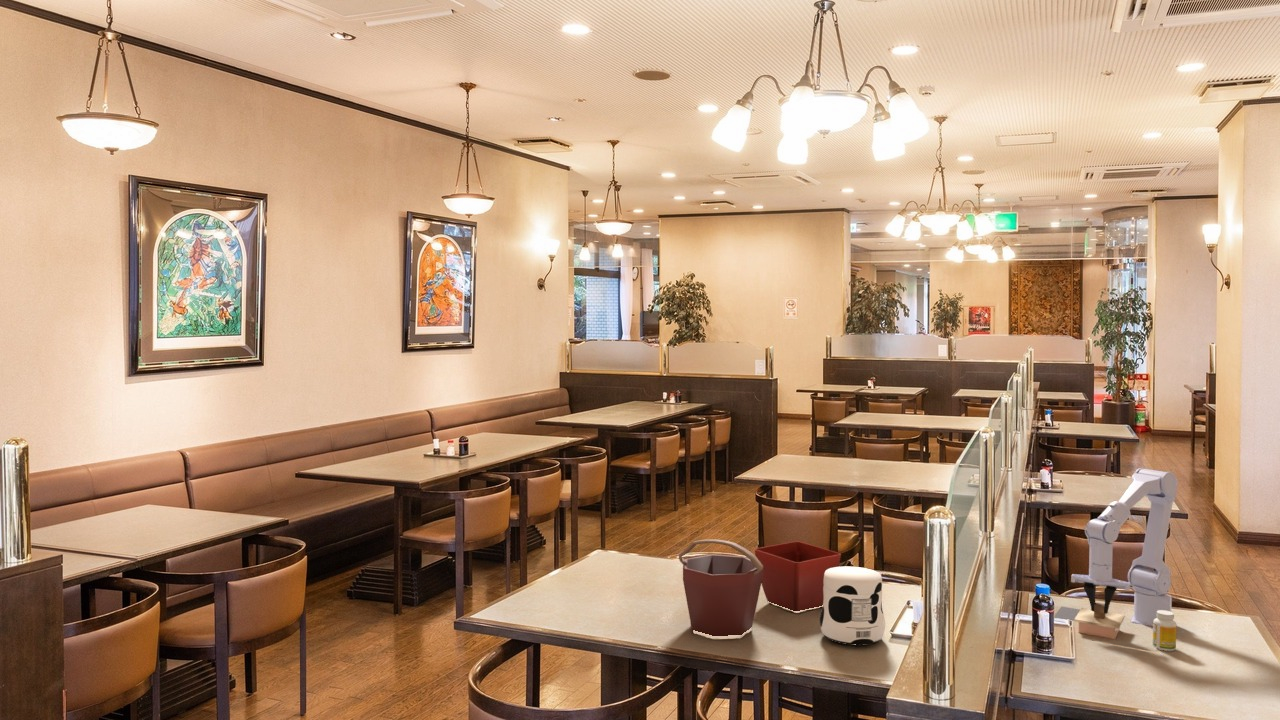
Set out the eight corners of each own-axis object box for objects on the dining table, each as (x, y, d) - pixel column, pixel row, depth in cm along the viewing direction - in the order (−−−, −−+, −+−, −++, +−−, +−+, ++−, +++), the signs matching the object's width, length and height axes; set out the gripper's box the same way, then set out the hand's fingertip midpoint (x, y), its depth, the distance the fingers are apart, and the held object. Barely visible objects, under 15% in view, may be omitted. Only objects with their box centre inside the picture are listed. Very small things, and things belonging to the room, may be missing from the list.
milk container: (842, 624, 258) (842, 561, 257) (897, 639, 245) (897, 574, 245) (807, 639, 246) (807, 573, 245) (862, 655, 233) (863, 586, 233)
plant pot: (842, 608, 272) (842, 553, 271) (796, 620, 261) (796, 562, 261) (797, 592, 288) (798, 540, 287) (752, 603, 277) (752, 548, 277)
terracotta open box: (1119, 631, 252) (1120, 619, 252) (1114, 640, 245) (1115, 628, 244) (1084, 625, 257) (1084, 613, 257) (1078, 634, 250) (1078, 621, 250)
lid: (1124, 617, 252) (1125, 602, 252) (1118, 629, 243) (1119, 614, 243) (1081, 609, 259) (1081, 595, 258) (1074, 621, 250) (1074, 606, 249)
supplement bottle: (1148, 646, 240) (1148, 610, 240) (1161, 643, 243) (1161, 608, 242) (1167, 653, 236) (1168, 616, 235) (1180, 649, 238) (1181, 613, 238)
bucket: (662, 628, 253) (662, 540, 252) (711, 610, 270) (711, 527, 269) (732, 650, 237) (732, 556, 236) (779, 629, 253) (780, 541, 252)
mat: (1113, 616, 265) (1113, 615, 265) (1106, 627, 255) (1106, 626, 255) (1061, 607, 273) (1061, 606, 273) (1053, 618, 263) (1053, 616, 263)
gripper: (1069, 562, 251) (1068, 610, 252) (1128, 570, 243) (1127, 620, 243) (1074, 556, 257) (1073, 603, 257) (1131, 564, 248) (1130, 613, 249)
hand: (1099, 611), depth 251 cm, fingers closed on lid, 2 cm apart
